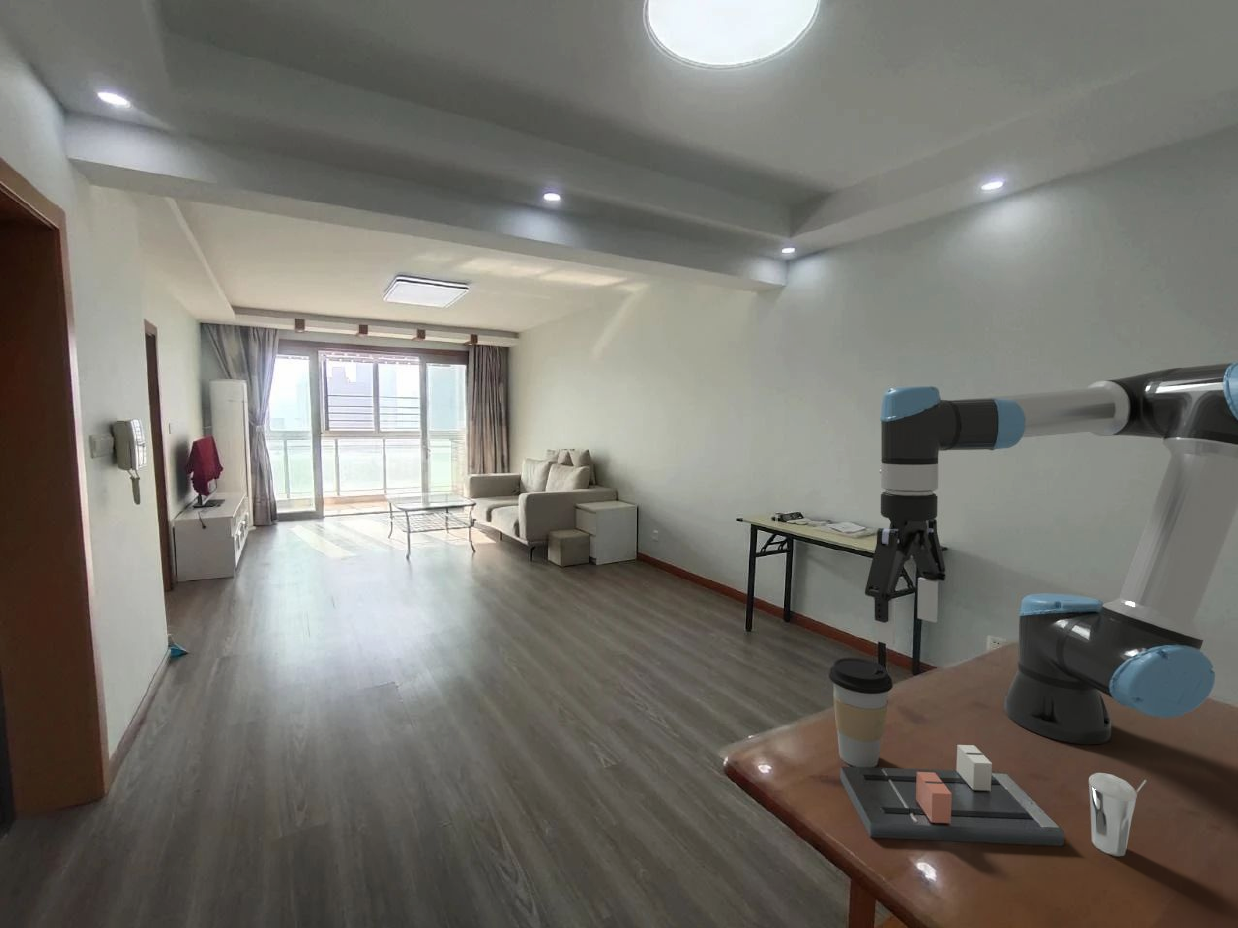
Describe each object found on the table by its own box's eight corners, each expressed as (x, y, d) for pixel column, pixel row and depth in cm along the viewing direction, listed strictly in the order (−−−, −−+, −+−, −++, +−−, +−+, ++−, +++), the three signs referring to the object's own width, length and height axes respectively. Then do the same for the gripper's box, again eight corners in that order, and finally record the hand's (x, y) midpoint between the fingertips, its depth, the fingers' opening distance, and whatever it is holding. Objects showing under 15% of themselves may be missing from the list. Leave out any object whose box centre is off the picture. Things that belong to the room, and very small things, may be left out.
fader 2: (973, 770, 83) (974, 744, 83) (990, 790, 78) (991, 762, 78) (956, 770, 83) (957, 744, 83) (973, 789, 79) (974, 762, 78)
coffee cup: (897, 779, 84) (900, 683, 83) (832, 771, 86) (834, 678, 85) (881, 743, 94) (884, 657, 93) (822, 737, 96) (824, 653, 94)
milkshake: (1146, 869, 67) (1151, 790, 67) (1088, 851, 70) (1093, 775, 69) (1136, 845, 71) (1141, 770, 70) (1082, 829, 74) (1086, 757, 73)
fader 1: (933, 800, 76) (934, 771, 76) (950, 823, 72) (951, 793, 72) (915, 799, 77) (916, 771, 76) (931, 822, 72) (932, 792, 72)
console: (1004, 785, 83) (1005, 771, 83) (1063, 845, 71) (1064, 830, 71) (840, 778, 85) (840, 765, 84) (870, 837, 73) (870, 821, 73)
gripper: (921, 482, 93) (919, 606, 95) (839, 497, 78) (838, 644, 80) (970, 485, 87) (968, 617, 89) (892, 503, 72) (890, 661, 74)
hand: (906, 630), depth 84 cm, fingers open, 13 cm apart
